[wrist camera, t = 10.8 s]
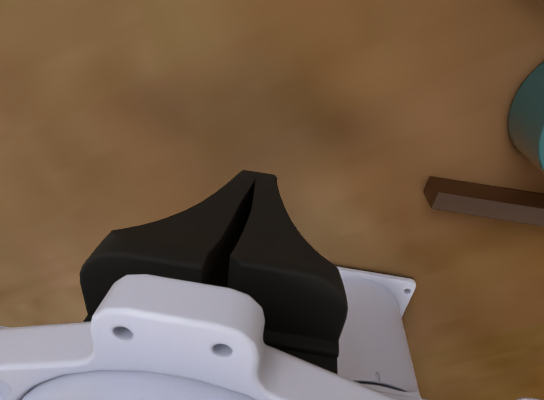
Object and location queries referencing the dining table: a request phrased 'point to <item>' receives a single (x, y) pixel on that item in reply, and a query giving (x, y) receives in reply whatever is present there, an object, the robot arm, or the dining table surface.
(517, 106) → the teal puck
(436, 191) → the walnut bay
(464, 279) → the dining table surface
